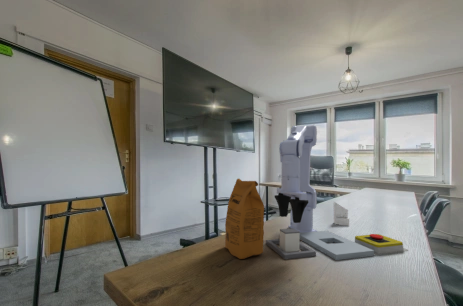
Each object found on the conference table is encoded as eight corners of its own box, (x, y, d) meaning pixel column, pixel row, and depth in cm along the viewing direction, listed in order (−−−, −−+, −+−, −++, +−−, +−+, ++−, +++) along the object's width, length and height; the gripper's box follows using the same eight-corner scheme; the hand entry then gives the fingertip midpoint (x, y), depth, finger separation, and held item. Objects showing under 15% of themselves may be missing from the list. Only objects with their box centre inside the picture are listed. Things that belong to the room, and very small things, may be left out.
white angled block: (323, 216, 104) (333, 201, 104) (343, 228, 102) (352, 213, 102) (326, 218, 100) (335, 202, 100) (345, 230, 99) (356, 214, 98)
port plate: (296, 237, 80) (296, 232, 80) (327, 234, 84) (327, 230, 84) (336, 260, 61) (336, 254, 61) (374, 255, 65) (374, 250, 65)
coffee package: (247, 242, 74) (248, 178, 75) (267, 256, 62) (268, 180, 64) (220, 246, 70) (222, 178, 71) (236, 262, 58) (238, 181, 60)
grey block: (279, 248, 69) (279, 229, 70) (293, 246, 71) (293, 228, 71) (285, 252, 66) (285, 232, 66) (299, 251, 67) (299, 231, 68)
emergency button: (349, 232, 75) (382, 229, 79) (349, 245, 74) (382, 242, 79) (374, 242, 66) (409, 238, 70) (374, 256, 65) (409, 252, 70)
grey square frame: (266, 243, 73) (266, 240, 73) (292, 241, 76) (292, 237, 76) (284, 259, 61) (285, 254, 61) (316, 255, 64) (316, 251, 64)
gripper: (269, 175, 75) (268, 214, 74) (292, 178, 61) (291, 226, 61) (286, 175, 77) (286, 213, 76) (313, 178, 63) (312, 225, 63)
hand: (290, 219), depth 69 cm, fingers open, 7 cm apart
